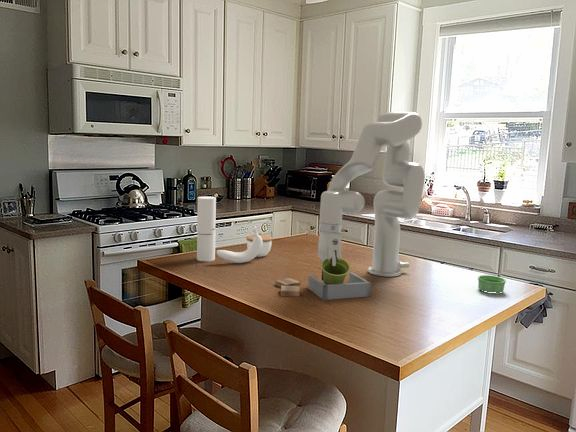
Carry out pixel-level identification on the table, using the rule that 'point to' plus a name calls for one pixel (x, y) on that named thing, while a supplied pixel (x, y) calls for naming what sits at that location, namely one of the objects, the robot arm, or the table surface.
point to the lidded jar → (265, 245)
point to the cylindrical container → (206, 228)
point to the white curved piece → (245, 255)
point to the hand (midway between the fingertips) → (326, 280)
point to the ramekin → (491, 283)
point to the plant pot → (335, 271)
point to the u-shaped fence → (340, 288)
